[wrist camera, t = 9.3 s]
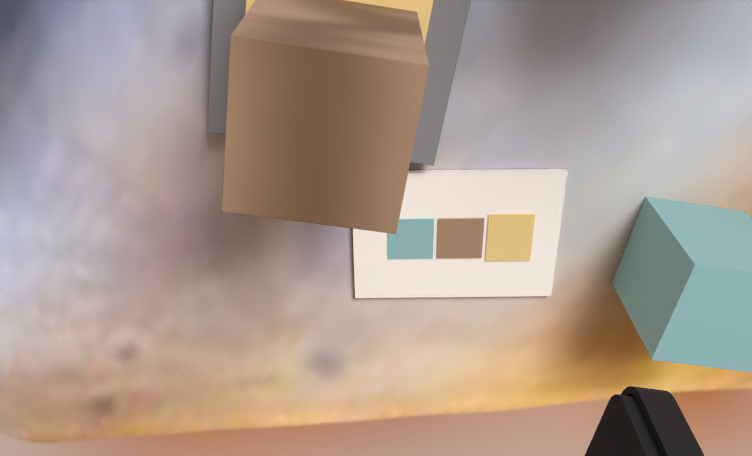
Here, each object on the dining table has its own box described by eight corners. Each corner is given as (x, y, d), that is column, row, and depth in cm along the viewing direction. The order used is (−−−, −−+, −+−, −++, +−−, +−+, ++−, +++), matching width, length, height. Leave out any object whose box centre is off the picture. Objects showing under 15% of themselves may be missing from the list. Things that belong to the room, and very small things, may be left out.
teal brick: (744, 210, 34) (812, 280, 29) (704, 294, 36) (759, 373, 31) (645, 196, 33) (694, 264, 28) (611, 282, 36) (651, 359, 31)
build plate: (482, -79, 27) (509, -56, 22) (431, 154, 32) (442, 220, 27) (225, -125, 27) (186, -113, 21) (212, 121, 31) (179, 182, 26)
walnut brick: (416, 11, 23) (429, 65, 18) (391, 151, 25) (396, 234, 20) (264, -13, 23) (230, 35, 17) (253, 131, 25) (221, 211, 20)
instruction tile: (566, 168, 33) (568, 172, 32) (549, 292, 36) (551, 297, 36) (351, 171, 33) (351, 174, 32) (355, 294, 36) (355, 299, 36)
